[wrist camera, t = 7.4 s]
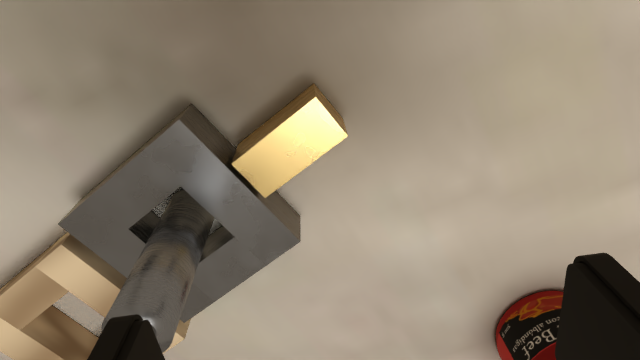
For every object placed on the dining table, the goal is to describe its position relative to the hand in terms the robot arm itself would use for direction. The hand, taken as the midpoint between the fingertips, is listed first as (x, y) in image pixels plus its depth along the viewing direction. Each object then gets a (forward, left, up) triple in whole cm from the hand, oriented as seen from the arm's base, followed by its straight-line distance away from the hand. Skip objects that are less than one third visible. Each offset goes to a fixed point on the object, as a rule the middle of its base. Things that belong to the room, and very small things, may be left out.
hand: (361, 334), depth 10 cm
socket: (0, -11, -18) cm, 21 cm away
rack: (+1, -22, -18) cm, 28 cm away
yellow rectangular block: (0, -2, -18) cm, 18 cm away
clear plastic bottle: (0, -11, -18) cm, 21 cm away
